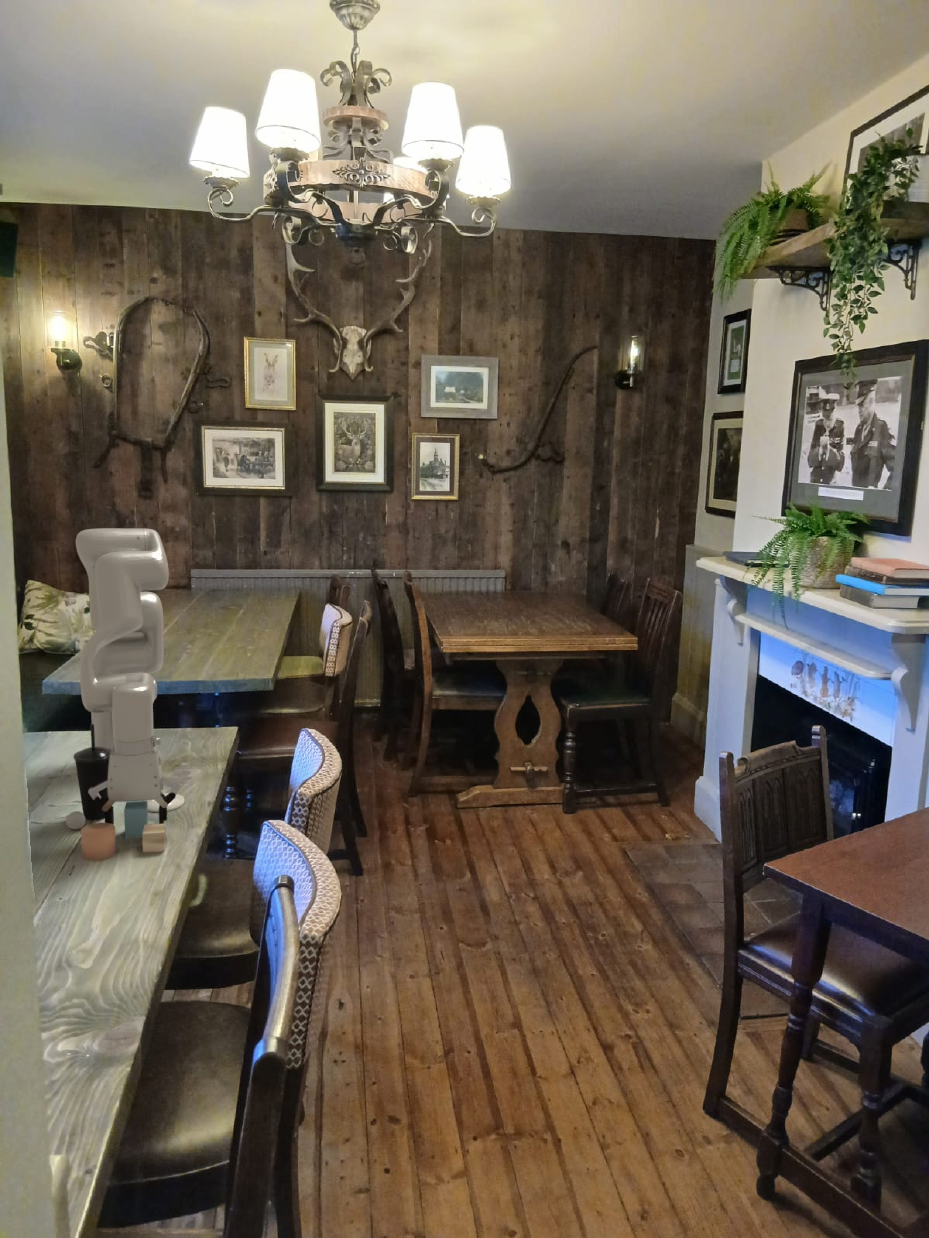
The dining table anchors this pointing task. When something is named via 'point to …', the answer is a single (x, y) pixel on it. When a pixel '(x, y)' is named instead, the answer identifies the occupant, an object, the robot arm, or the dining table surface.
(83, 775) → the drinking cup
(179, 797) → the cream shiny round part
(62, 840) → the dining table surface
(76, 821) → the grey ball
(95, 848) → the peach cylinder
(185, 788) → the dining table surface
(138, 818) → the teal block
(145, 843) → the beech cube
